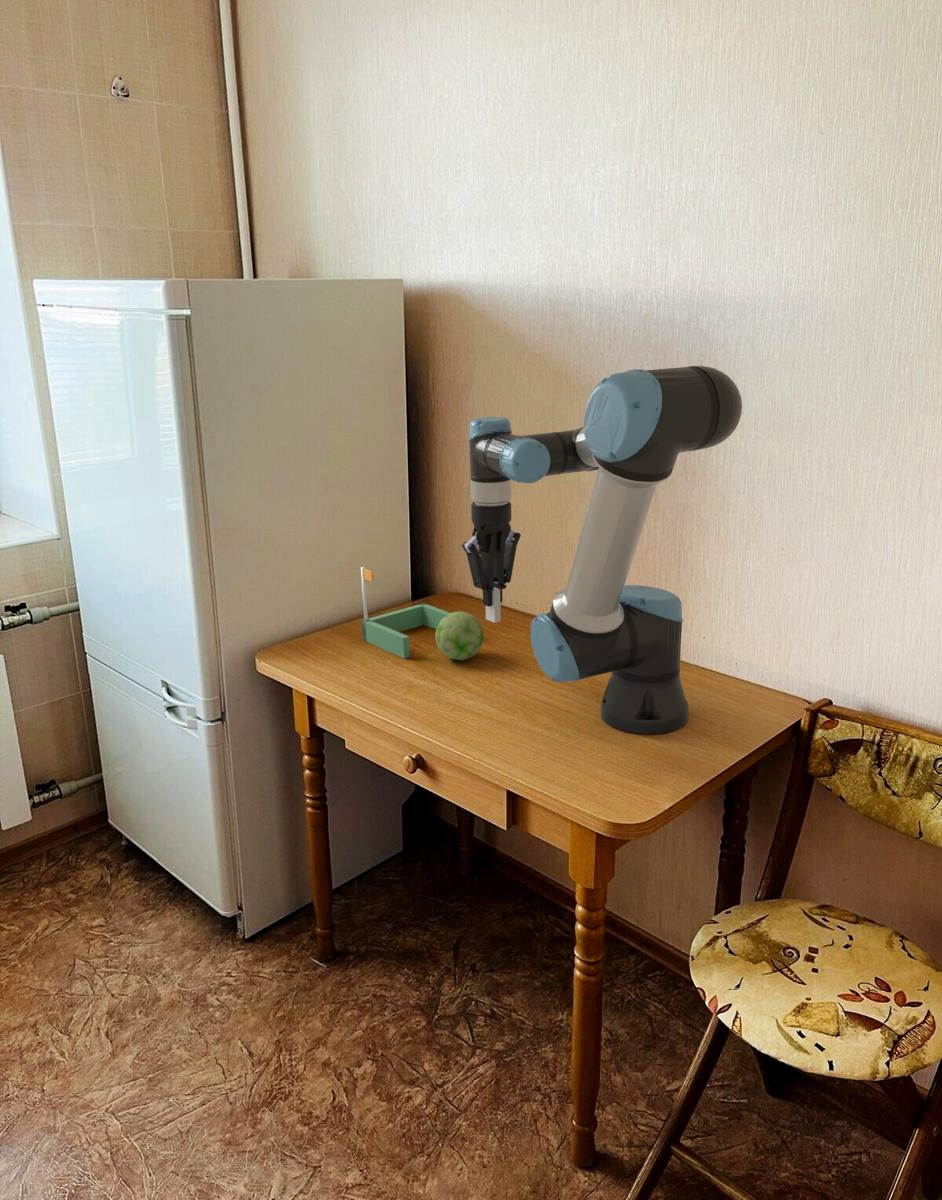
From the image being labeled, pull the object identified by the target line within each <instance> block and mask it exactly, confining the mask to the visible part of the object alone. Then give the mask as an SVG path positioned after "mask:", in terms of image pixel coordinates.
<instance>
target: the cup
mask: <svg viewBox="0 0 942 1200" xmlns="http://www.w3.org/2000/svg"><path fill="white" fill-rule="evenodd" d="M373 573H374V572H373V571H372V570H370V569H366V568H365V566H361V567H360V574H361V575H360V576H361V589H362V602H363V603H362V605H363V619H362V620H361V635H362V640H363V641H365V642H366V643H369V644H370V645H373V646H376V647H378V648H380V649H381V650H384V651H386V652H388V653H390V654H393V655H396V656H397V657H400V658H402V659H404V660H405V659H409V658H411V652H410V651H411V650H410V649H411V648H410V636H408V635H406V634H403V633H402V632H404V631H408V630H410V629H411V630H412V629H414V628H419V627H422V626H425V627H427V626H428V627H427V628H430V627H431V628H430V629H432V628H434V629H433V630H435V629H436V630H437V627H438V625H439V623H440V621H441V620H442V619H443V618H444V617H446V616H447V615H449V614H450V613H451V612H448V611H447V610H443V609H441V608H438V607H435V606H433V605H429V604H427V603H420V604H416V605H413V606H410V607H405V608H402V609H401V608H400V609H397V610H395V611H391V612H387V613H384V614H380V615H377V616H373V617H370V618H369V616H368V615H369V614H368V613H369V611H368V599H367V598H368V597H367V585H366V581H369V582H371V583H373V582H374V574H373ZM436 630H435V631H436Z"/></svg>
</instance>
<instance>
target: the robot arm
mask: <svg viewBox="0 0 942 1200" xmlns="http://www.w3.org/2000/svg"><path fill="white" fill-rule="evenodd" d="M583 413H584V415H583V425H584V426H581V427H579V428H576V429H572V430H571V429H570V430H565V431H556V432H555V431H552V432H545V433H535V434H527V435H526V434H523V435H517V434H513V431H512V426H511V421H510V420H509V419H508V418H506V417H504V416H503V417H502V416H482V417H477V418H473V419H472V420H471V422H470V423H469V438H468V443H469V445H468V446H469V465H470V466H469V469H470V499H471V501H473V502H472V503H471V505H470V511H471V512H470V513H471V515H470V516H471V517H470V518H471V522H472V525H473V529H472V532H471V536H472V537H471V538H470V539H469V540H468V541H463V542H462V544H461V546H462V547H461V548H462V549H463V551H464V552H465V553H466V558H467V561H468V566H469V571H470V573H471V575H470V576H471V579H472V583H473V586H474V588H477V589H480V590H482V604H483V605H484V606H485V620H486V621H489V622H492V623H495V624H496V623H499V622H501V619H502V618H501V617H502V616H501V615H502V614H501V604H503V599H504V598H503V590H504V589H506V588H507V587H508V585H507V584H510V583H511V581H512V575H513V570H514V563H515V559H516V558H515V557H516V554H517V553H516V551H517V547H518V543H519V541H520V539H521V533H520V532H517V531H514V530H513V529H512V527H511V525H510V522H511V521H512V503H511V502H510V501H511V500H512V481H514V482H516V483H521V484H534V483H537V482H539V481H540V480H541V479H543V478H544V477H549V476H551V477H552V476H557V475H563V474H571V473H580V472H594V471H597V473H596V474H597V475H596V477H595V481H594V485H593V487H592V488H593V489H592V492H591V495H590V500H589V503H588V506H587V507H588V508H587V511H586V513H585V518H584V520H583V521H584V522H583V525H582V529H581V533H580V537H579V540H578V544H577V547H576V551H575V554H574V555H575V556H574V559H573V563H572V565H571V569H570V573H569V577H568V580H567V583H566V586H565V587H563V588H561V589H559V590H558V591H557V592H556V593H555V594H554V596H553V599H552V604H551V607H550V610H549V612H548V613H540V614H539V615H536V616H535V617H534V618H533V619H532V621H531V624H530V631H529V632H530V634H529V635H530V640H531V646H532V647H531V648H532V651H533V654H534V656H535V659H536V661H537V663H538V665H539V667H540V668H541V671H542V672H543V673H544V674H545V676H547V677H548V678H549V679H550V680H551V681H553V682H556V683H569V682H578V681H579V680H584V679H588V678H592V677H595V676H600V675H604V674H608V673H611V674H610V677H609V680H608V682H607V686H606V687H605V691H604V695H603V697H602V699H601V703H600V716H601V718H602V721H604V723H606V724H607V725H608V726H610V727H612V728H614V729H616V730H619V731H623V732H627V733H631V734H637V735H638V734H639V735H658V734H659V735H660V734H666V733H671V732H674V731H677V730H679V729H681V728H683V727H684V726H686V724H687V723H688V720H689V702H688V701H687V699H686V697H685V692H684V689H683V685H682V684H683V683H682V681H681V677H680V674H681V673H680V670H681V652H682V651H681V649H682V648H681V647H682V646H681V645H682V630H683V621H684V618H683V609H682V607H683V606H682V605H683V604H682V600H681V599H680V598H679V597H678V595H676V594H675V593H673V592H670V591H668V590H665V589H662V588H658V587H653V586H648V585H639V584H638V585H636V584H635V585H633V584H629V585H625V584H626V581H627V577H628V575H629V572H630V569H631V566H632V563H633V560H634V556H635V553H636V550H637V547H638V544H639V540H640V537H641V533H642V531H643V528H644V525H645V522H646V519H647V515H648V514H649V510H650V506H651V503H652V500H653V497H654V494H655V490H656V488H657V485H658V484H659V483H662V482H665V481H666V480H668V479H669V478H670V477H671V475H672V473H673V470H674V467H675V465H676V461H677V459H678V456H679V454H680V453H685V452H693V451H699V450H703V449H709V448H711V447H715V446H717V445H719V444H721V443H723V442H724V441H725V440H727V439H728V438H729V437H730V436H732V434H733V433H734V431H735V430H736V429H737V428H738V425H739V423H740V420H741V417H742V414H743V399H742V396H741V394H740V390H739V388H738V387H737V384H736V383H735V382H734V380H733V379H732V378H731V377H730V376H728V374H725V373H724V372H723V371H721V370H718V369H717V368H715V367H711V366H705V365H691V366H685V367H684V366H682V367H671V368H658V369H649V370H648V369H647V370H646V369H643V368H642V369H639V368H638V369H635V368H633V369H629V370H627V371H624V372H617V373H613V374H610V375H608V376H607V377H605V378H603V379H602V380H601V381H599V382H598V384H597V385H596V386H594V388H593V390H592V391H591V393H590V395H589V397H588V399H587V402H586V405H585V409H584V412H583Z"/></svg>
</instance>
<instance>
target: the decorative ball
mask: <svg viewBox="0 0 942 1200" xmlns="http://www.w3.org/2000/svg"><path fill="white" fill-rule="evenodd" d="M449 613H450V614H449V615H447V616H446V617H444V618H443V619H442V620H441V621H440V623H439V625H438V627H437V630H435V635H434V636H435V643H436V645H437V648H438V650H439V651H440V652H441V653H443V655H444V656H446V658H449V659H450V660H457V661H466V660H468V659H470V658H472V657H474V656H475V655H476V654H477V653H478V652H479V651H480V650H481V647H482V644H483V643H484V630H483V627H482V623H481V621H479V620H478V618H477V617H475V615H473V614H471V613H468V612H465V611H454V612H449Z"/></svg>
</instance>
